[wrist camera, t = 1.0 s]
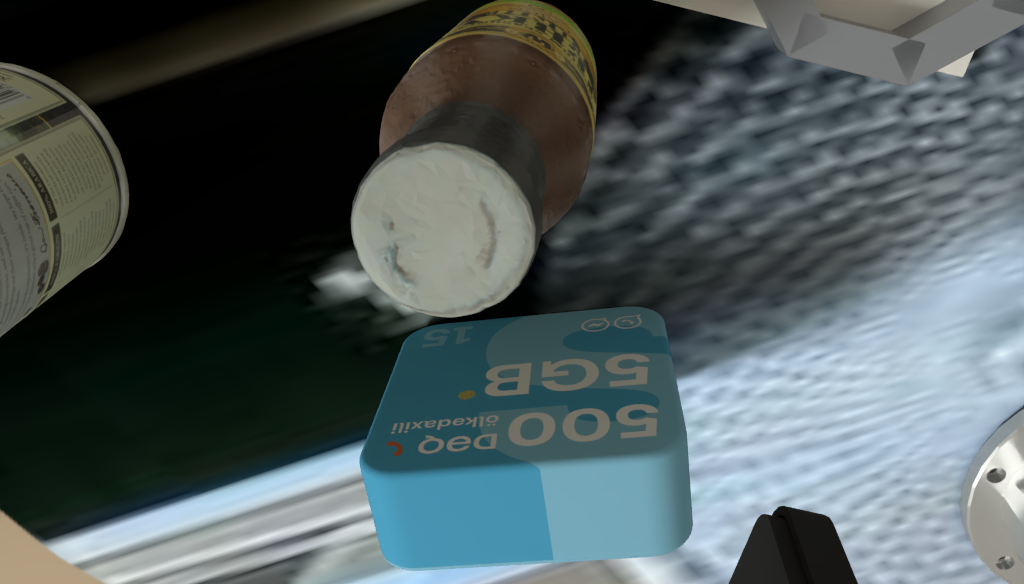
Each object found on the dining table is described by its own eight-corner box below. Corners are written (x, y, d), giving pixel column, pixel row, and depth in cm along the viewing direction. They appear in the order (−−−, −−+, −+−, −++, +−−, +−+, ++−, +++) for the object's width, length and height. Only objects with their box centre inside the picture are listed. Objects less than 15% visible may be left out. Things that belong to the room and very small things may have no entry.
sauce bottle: (623, 38, 36) (670, 192, 17) (549, 168, 38) (523, 420, 20) (483, -41, 35) (381, 34, 17) (416, 97, 37) (264, 294, 19)
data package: (661, 301, 40) (691, 452, 29) (667, 385, 42) (698, 557, 31) (407, 325, 42) (348, 478, 31) (424, 405, 44) (374, 576, 33)
